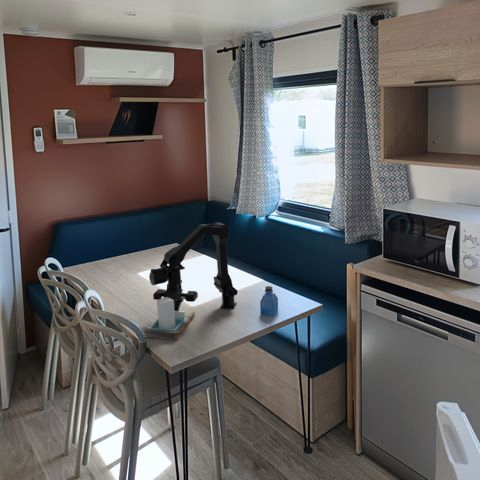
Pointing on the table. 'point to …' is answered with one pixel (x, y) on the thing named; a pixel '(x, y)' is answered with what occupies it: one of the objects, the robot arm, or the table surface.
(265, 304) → the perfume bottle
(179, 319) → the tray
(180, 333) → the dock
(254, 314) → the table surface
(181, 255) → the robot arm
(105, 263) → the table surface
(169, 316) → the light grey block
